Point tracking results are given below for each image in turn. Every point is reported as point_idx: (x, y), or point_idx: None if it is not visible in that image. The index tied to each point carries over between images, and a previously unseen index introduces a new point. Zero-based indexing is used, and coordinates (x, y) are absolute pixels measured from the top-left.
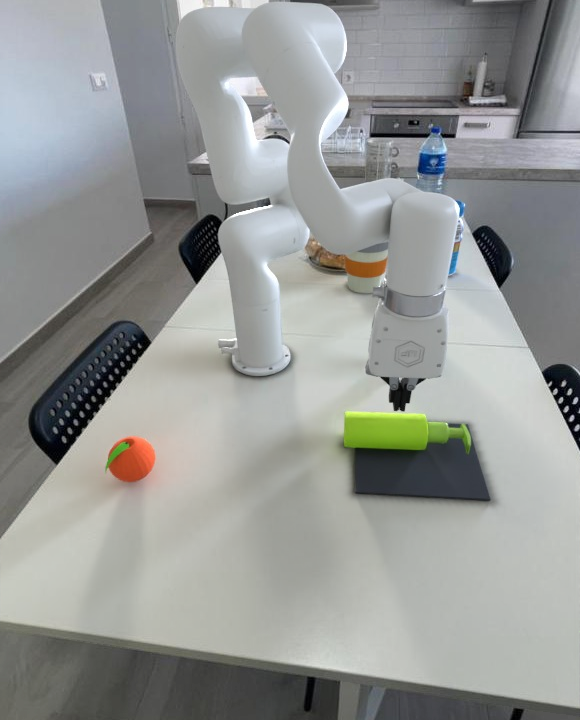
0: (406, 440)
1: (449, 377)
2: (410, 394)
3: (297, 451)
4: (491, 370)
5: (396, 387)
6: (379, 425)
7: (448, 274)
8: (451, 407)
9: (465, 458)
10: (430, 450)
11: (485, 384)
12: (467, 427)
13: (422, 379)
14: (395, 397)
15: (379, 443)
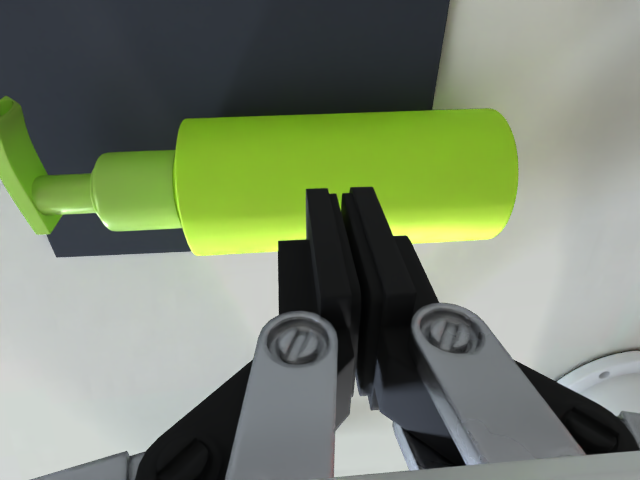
0: (263, 128)
1: (133, 401)
2: (283, 289)
3: (614, 99)
4: (22, 433)
5: (421, 327)
6: (380, 175)
7: None
8: (117, 312)
9: (40, 109)
10: (171, 136)
11: (30, 393)
12: (55, 244)
13: (184, 441)
14: (394, 255)
15: (367, 116)
